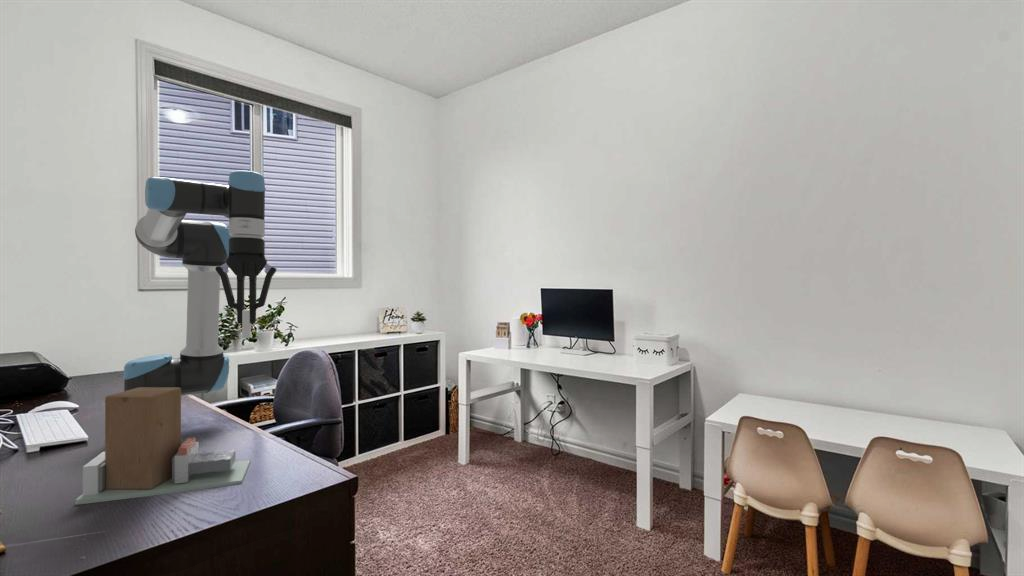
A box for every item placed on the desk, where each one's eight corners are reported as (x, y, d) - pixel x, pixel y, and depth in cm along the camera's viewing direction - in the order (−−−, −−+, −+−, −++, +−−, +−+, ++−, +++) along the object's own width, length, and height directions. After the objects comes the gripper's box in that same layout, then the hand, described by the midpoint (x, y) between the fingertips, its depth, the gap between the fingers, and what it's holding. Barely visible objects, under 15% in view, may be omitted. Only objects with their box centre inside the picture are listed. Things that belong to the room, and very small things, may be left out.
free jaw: (183, 468, 119) (183, 437, 118) (236, 462, 122) (236, 432, 122) (171, 484, 109) (171, 450, 109) (229, 477, 113) (229, 444, 113)
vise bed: (103, 479, 115) (103, 449, 115) (250, 464, 125) (250, 436, 125) (75, 504, 102) (75, 470, 102) (241, 484, 112) (241, 453, 112)
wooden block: (151, 490, 107) (151, 396, 106) (103, 490, 106) (104, 396, 106) (181, 472, 117) (182, 386, 116) (138, 472, 116) (138, 386, 116)
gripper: (212, 235, 113) (211, 339, 113) (275, 237, 117) (275, 338, 117) (218, 238, 120) (218, 336, 120) (278, 240, 124) (278, 335, 124)
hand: (246, 337), depth 119 cm, fingers closed
